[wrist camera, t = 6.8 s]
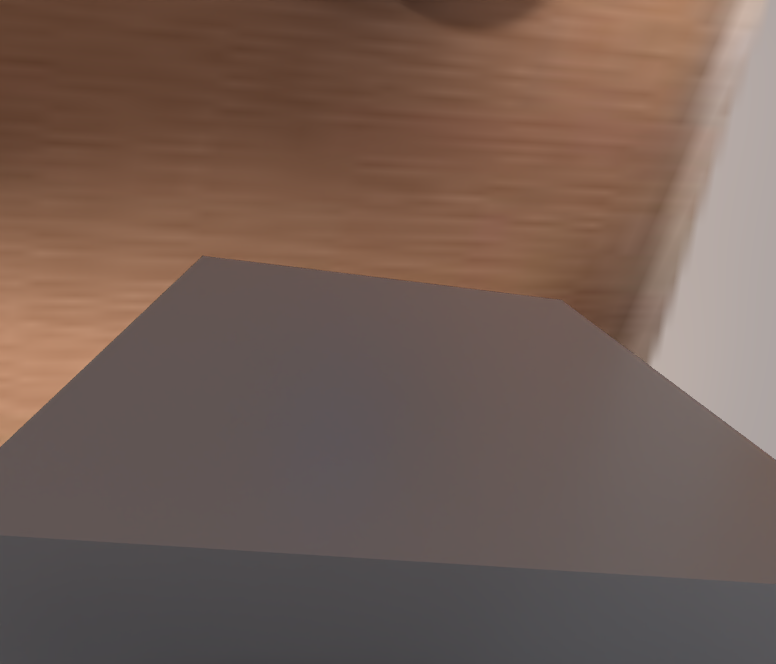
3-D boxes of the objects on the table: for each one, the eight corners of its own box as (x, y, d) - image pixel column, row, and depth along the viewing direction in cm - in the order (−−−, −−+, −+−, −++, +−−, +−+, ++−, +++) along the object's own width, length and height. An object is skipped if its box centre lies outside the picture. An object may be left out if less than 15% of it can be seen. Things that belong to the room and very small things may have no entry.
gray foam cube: (492, 583, 15) (676, 1112, 7) (187, 566, 14) (-13, 1153, 6) (561, 300, 13) (957, 595, 5) (202, 255, 12) (-87, 529, 4)
